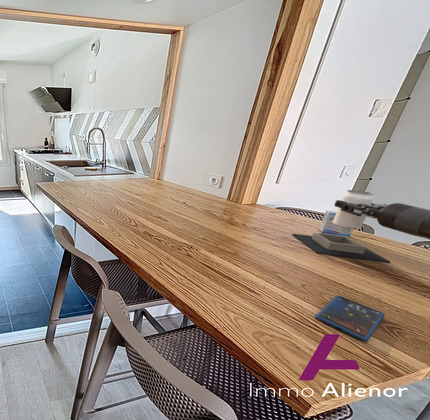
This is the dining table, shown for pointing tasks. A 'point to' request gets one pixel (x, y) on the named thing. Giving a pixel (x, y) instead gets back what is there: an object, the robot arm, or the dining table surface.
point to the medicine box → (333, 226)
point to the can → (350, 219)
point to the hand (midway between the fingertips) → (347, 203)
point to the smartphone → (351, 317)
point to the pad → (338, 246)
